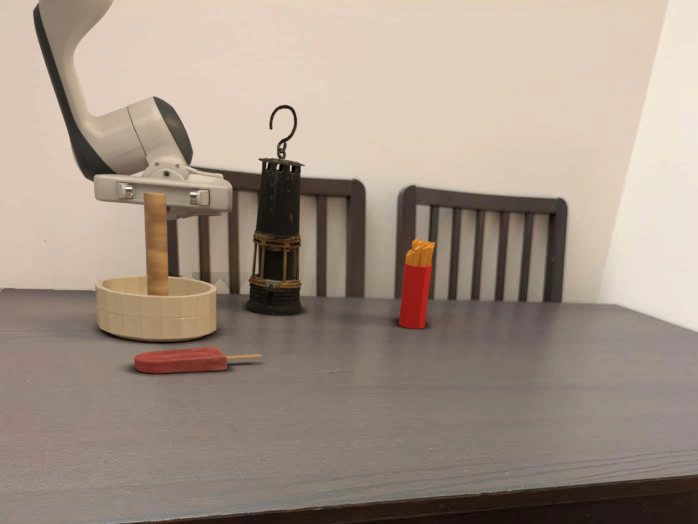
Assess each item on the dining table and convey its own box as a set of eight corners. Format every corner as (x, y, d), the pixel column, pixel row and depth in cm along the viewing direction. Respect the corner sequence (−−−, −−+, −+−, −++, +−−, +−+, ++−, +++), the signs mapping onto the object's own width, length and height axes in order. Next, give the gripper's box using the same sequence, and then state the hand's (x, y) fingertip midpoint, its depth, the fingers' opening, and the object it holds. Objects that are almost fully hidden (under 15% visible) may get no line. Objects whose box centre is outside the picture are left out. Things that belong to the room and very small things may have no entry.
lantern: (268, 316, 113) (274, 101, 101) (234, 305, 119) (236, 100, 107) (312, 312, 119) (323, 108, 107) (278, 301, 125) (285, 106, 113)
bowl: (78, 323, 100) (74, 278, 98) (177, 313, 110) (177, 273, 108) (135, 349, 90) (133, 300, 88) (238, 336, 100) (239, 292, 98)
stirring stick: (136, 323, 100) (130, 191, 93) (164, 320, 103) (161, 192, 96) (153, 330, 97) (148, 194, 90) (181, 327, 100) (179, 195, 93)
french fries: (398, 317, 121) (407, 235, 116) (424, 319, 121) (433, 238, 116) (398, 328, 113) (407, 241, 108) (426, 331, 113) (436, 244, 108)
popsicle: (267, 353, 86) (138, 361, 80) (267, 367, 87) (139, 376, 81) (254, 343, 90) (130, 351, 83) (254, 357, 91) (131, 365, 84)
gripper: (99, 162, 113) (83, 165, 101) (232, 174, 117) (233, 178, 105) (101, 205, 116) (86, 213, 104) (231, 216, 120) (232, 224, 107)
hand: (161, 195), depth 104 cm, fingers open, 8 cm apart
